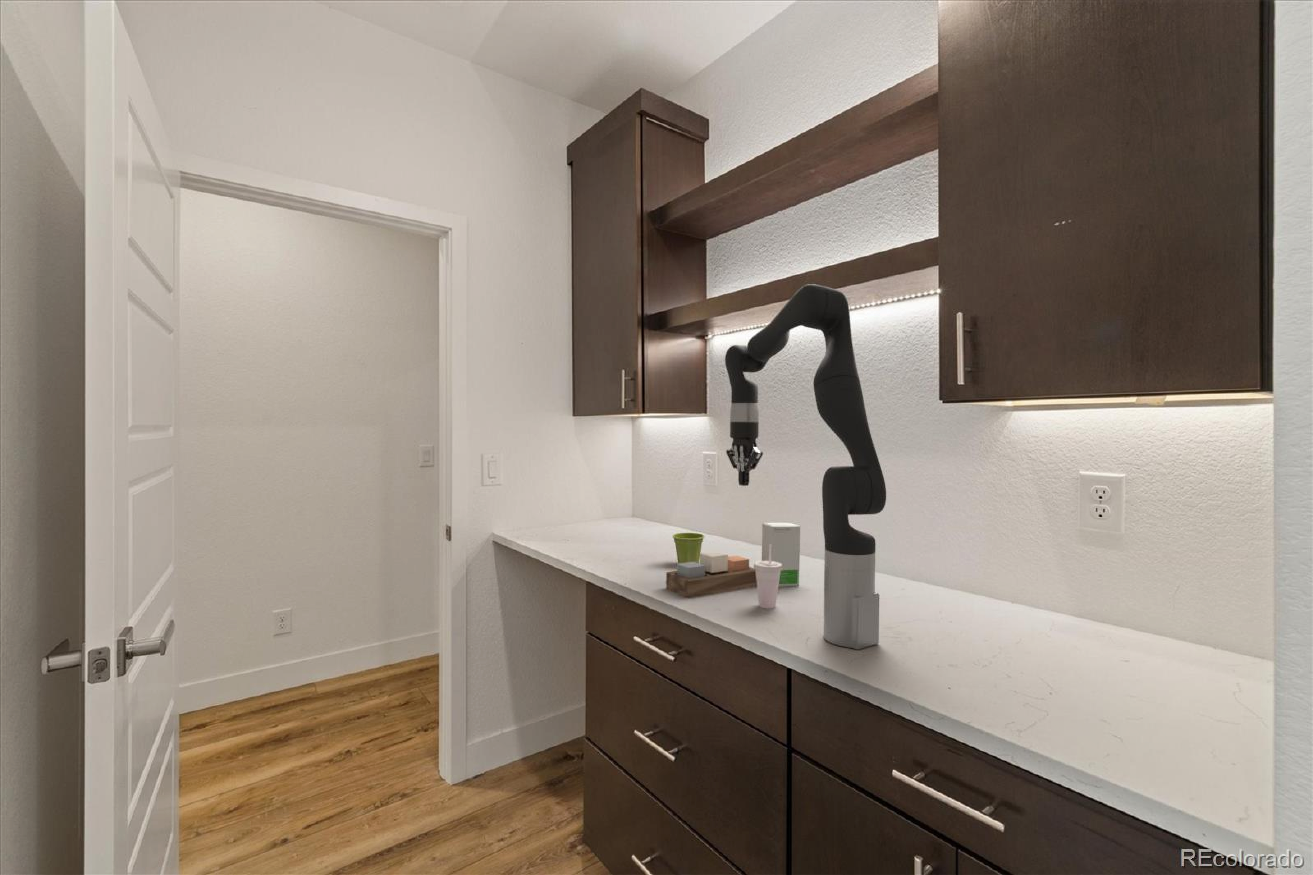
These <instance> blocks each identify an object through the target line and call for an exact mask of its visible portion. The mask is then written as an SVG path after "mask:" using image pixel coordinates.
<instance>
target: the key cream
mask: <svg viewBox="0 0 1313 875" xmlns="http://www.w3.org/2000/svg"><path fill="white" fill-rule="evenodd" d="M728 557H729V555H728V554H726V553H723V552H720V551H717V550H714V551H705V552H700V559H699V564H702V565H705V571H708V572H710V573H714V572H721V571H728Z"/></svg>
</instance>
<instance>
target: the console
mask: <svg viewBox="0 0 1313 875" xmlns="http://www.w3.org/2000/svg"><path fill="white" fill-rule="evenodd" d="M665 578H666V579H665V580H666V581H665V584H666V585H665V587H666V589H668V590H670V591H672V592H674V593H675V594H678V595H681V596H684V597H685V598H688V599H692V598H697V597H703V596H709V595H714V594H721V593H726V592H732V591H737V590H744V589H749V588H755V587H757V581H756V572H755V568H754V567H751V566H749V570H743V571H736V572H732V571H729V570H728V571H721V572H714V573H710V572H708V571H705V576H704V577H697V578H691V579H686V578H684V577H681V576H679V575H677V570H673V571H672V570H671V571H666V574H665Z"/></svg>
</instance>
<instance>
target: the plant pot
mask: <svg viewBox="0 0 1313 875" xmlns="http://www.w3.org/2000/svg"><path fill="white" fill-rule="evenodd" d="M672 538H673V542H674V545H675V552H676V559H677V564H679V563H686V562H696V563H699V564H700V553H702V552H701V551H702V545H703V544H702V543H703V541H704V538H705V535H704V534H702V533H698V532H680V533H679V532H678V533H673V534H672Z"/></svg>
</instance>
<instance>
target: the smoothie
mask: <svg viewBox="0 0 1313 875" xmlns="http://www.w3.org/2000/svg"><path fill="white" fill-rule="evenodd" d="M771 553H772V545H769V561H762V560H758V561H755V562H753V568H755V572H756V581H757V586H756V589H757V590H756V591H757V596H758V597H757V598H758V606H759V607H760V608H763V609H766V610H767V609H768V610H769V609H775V608H776V606H777V600H778V592H779V587H778V586H779V579H780V571H781V570H782V564H781V563H779V562H775V561H771Z"/></svg>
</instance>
